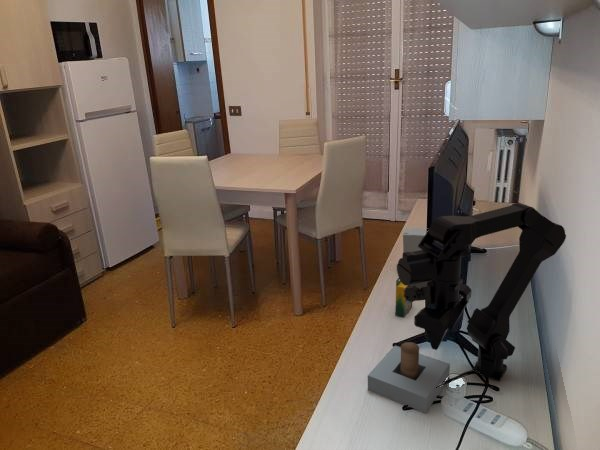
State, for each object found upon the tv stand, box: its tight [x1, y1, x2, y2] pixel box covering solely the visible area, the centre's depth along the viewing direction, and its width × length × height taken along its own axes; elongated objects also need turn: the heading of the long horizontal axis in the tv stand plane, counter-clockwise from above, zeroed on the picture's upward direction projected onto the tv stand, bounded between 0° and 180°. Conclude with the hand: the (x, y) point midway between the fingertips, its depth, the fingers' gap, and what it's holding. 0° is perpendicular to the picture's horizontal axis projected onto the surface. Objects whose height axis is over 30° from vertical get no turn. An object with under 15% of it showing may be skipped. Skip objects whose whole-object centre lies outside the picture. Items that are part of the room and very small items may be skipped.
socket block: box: [367, 345, 451, 414], centre depth 108 cm, size 14×14×4 cm
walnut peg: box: [400, 341, 420, 380], centre depth 107 cm, size 4×4×10 cm
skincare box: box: [402, 227, 427, 254], centre depth 162 cm, size 8×7×16 cm
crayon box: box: [394, 277, 413, 318], centre depth 138 cm, size 7×3×12 cm, turn 148°
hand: (442, 338), depth 104 cm, fingers open, 9 cm apart
